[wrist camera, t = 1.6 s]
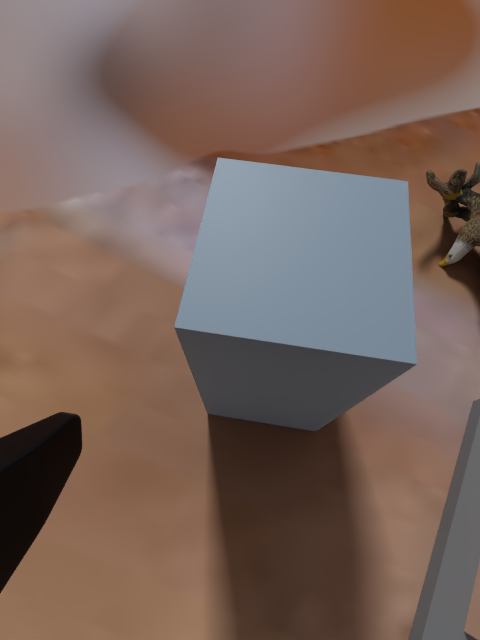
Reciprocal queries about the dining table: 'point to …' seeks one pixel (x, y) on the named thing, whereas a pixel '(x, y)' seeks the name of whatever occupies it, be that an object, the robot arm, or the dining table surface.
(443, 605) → the tower base
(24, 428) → the robot arm
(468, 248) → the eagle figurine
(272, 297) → the slate blue brick
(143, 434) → the dining table surface
